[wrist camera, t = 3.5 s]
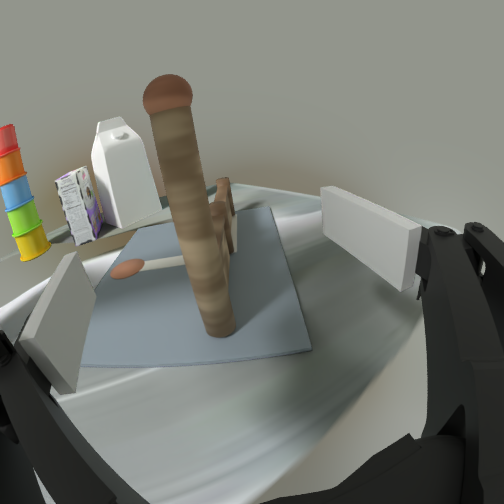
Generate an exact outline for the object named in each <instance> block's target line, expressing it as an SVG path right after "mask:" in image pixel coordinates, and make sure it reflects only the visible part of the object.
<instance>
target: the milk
mask: <svg viewBox="0 0 504 504" xmlns="http://www.w3.org/2000/svg"><path fill="white" fill-rule="evenodd" d="M91 158H92V164H93V169H94V174H95V179H96V184H97V188H98V192H99V197H100V201H101V205H102V209H103V214H104V218H105V221H106V223H108V224H110V225H113V226H116V227H119V228H122V229H123V228H125V227H127V226H129V225H131V224H133V223H135V222H137V221H139V220H141V219H143V218H145V217H148V216H150V215H152V214H154V213H156V212H158V211H160V210H163V209H162V206H161V203H160V200H159V196H158V193H157V190H156V186H155V183H154V180H153V176H152V173H151V169H150V166H149V162H148V158H147V155H146V151H145V147H144V143H143V141H142V139H141V138H140V136H139V135H138V134H137V133H135V132H134V131H133V130H132V129H131V128H130V127H129V126H127V124H126V123H125V121H124V120H123V119H122V117H121V116H120V117H115V118H112V119H108V120H104V121H101V122H98V126H97V132H96V137H95V140H94V144H93V148H92V154H91Z"/></svg>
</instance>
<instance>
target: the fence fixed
mask: <svg viewBox="0 0 504 504" xmlns="http://www.w3.org/2000/svg"><path fill="white" fill-rule="evenodd" d="M216 183H217V193H216V196H215V200H214V202H213V203H210V204H209V206H210V211H211V216H217V215H223V214H224V218H225V223H224V230H225V235H226V240H227V245H228V250H229V254H231V253H233V252H234V246H233V241H232V236H231V225H232V216H234V215H235V210H234V205H233V199H232V193H231V188H230V182H229V178H227V177H225V178H220V179H217V180H216Z"/></svg>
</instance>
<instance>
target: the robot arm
mask: <svg viewBox="0 0 504 504" xmlns="http://www.w3.org/2000/svg"><path fill="white" fill-rule="evenodd" d="M321 204H322V223H323V234H324V235H325V236H327V237H328V238H330V239H331V240H332V241H334V242H335V243H337V244H338V245H339V246H341V247H342V248H343V249H345V250H346V251H348V252H349V253H350V254H352V255H353V256H354V257H356V258H357V259H358V260H360V261H361V262H362V263H364V264H365V265H366V266H368V267H369V268H370V269H372V270H373V271H374V272H376V273H377V274H378V275H380V276H381V277H382V278H383V279H385V280H386V281H387V282H389V283H390V284H391V285H393V286H394V287H395V288H396V289H398V290H399V291H400V292H402V291H404V290H406V289H408V288H410V287H412V286H413V284H414V278H415V273H416V274H418V275H419V276H420V277H421V281H420V286H419V291H418V295H417V300H419V298H420V296H421V298H422V306H423V314H424V324H425V335H426V350H427V372H428V373H427V375H428V401H427V419H426V424H425V427H424V430H423V432H422V436H421V438H419V439H415V440H414V439H413V438H412V436H411V435H410V434H409V433H408V434H407V435H405V436H404V437H403V438H401V439H399V440H398V441H396V442H395V443H393V444H391V445H390V446H388V447H387V448H385V449H383V450H382V451H380V452H378V453H377V454H375V455H373V456H372V457H371V458H370V459H369V460H368V461H366V462H365V463H364V464H363V465H362V466H361V467H360V468H358V469H357V470H356V471H355V472H354V473H352V474H351V475H350V476H349V477H348V478H347V479H345V480H344V481H343V482H341V483H340V484H339V485H338V486H336V487H334V488H332V489H328V490H324V491H319V492H313V493H308V494H302V495H295V496H288V497H280V498H277V499H273V500H270V501H267V502H264V503H260V504H504V242H502V241H501V240H500V239H499V238H498V237H497V236H496V235H495V234H494V233H493V232H492V231H491V230H489V229H488V228H487V227H485V226H484V225H482V224H481V223H477V222H474V223H472V222H470V223H466V224H465V228H464V234H459V235H457V234H456V233H455V231H453V230H452V229H450V228H447V227H444V226H433V227H430V228H429V229H427V228H425V227H423V226H421V225H419V224H417V223H415V222H413V221H411V220H409V219H407V218H405V217H403V216H401V215H399V214H397V213H395V212H393V211H390V210H388V209H386V208H384V207H382V206H379V205H377V204H375V203H373V202H370V201H368V200H366V199H364V198H361V197H359V196H356V195H354V194H352V193H350V192H347V191H345V190H342V189H340V188H337V187H335V186H327V187H322V188H321ZM483 261H484V262H485V267H486V269H485V273H484V275H482V273H481V269H482V265H483ZM96 297H97V296H96V294H95V292H94V290H93V287H92V285H91V283H90V281H89V279H88V276H87V274H86V272H85V269H84V267H83V265H82V262H81V260H80V257H79V255H78V252H77V251H76V252H73V253H70V254H67V255H65V256H64V257H63V259H62V261H61V262H60V264H59V265H58V267H57V269H56V270H55V272H54V274H53V275H52V277H51V279H50V280H49V282H48V284H47V286H46V287H45V289H44V291H43V293H42V295H41V296H40V298H39V300H38V302H37V304H36V306H35V308H34V310H33V311H32V312H31V313H30V315H29V316H28V317H27V319H26V321H25V323H24V326H23V327H22V329H21V332H20V334H19V336H18V338H17V340H16V342H15V344H14V346H13V345H12V344H11V342H10V341H9V339H8V338H7V336H6V335H5V333H4V332H3V331H2V330H0V504H46V503H45V500H44V498H43V495H42V493H41V490H40V487H39V484H38V481H37V478H36V475H35V472H34V470H35V471H36V473H37V475H38V477H39V478H40V480H41V482H42V483H43V485H44V486H45V488H46V490H47V491H48V493H49V494H50V496H51V497H52V499H53V500H54V502H55V503H56V504H150V503H148V502H147V501H146V500H145V499H144V498H143V497H141V496H140V495H139V494H138V493H137V492H136V491H135V490H134V489H132V488H131V487H130V486H129V485H128V484H127V483H126V482H125V481H124V480H123V479H122V478H121V477H120V476H119V475H118V474H117V473H116V472H115V471H114V470H113V469H112V468H111V467H110V466H109V465H108V464H107V463H106V462H105V461H104V460H103V459H102V458H101V457H100V455H99V454H98V453H97V452H96V451H95V450H94V449H93V448H92V446H91V445H90V444H89V443H88V442H87V441H86V439H85V438H84V437H83V436H82V434H81V433H80V432H79V431H78V429H77V428H76V427H75V426H74V424H73V423H72V422H71V420H70V419H69V418H68V416H67V415H66V414H65V412H64V411H63V410H62V408H61V407H60V405H59V404H58V402H57V401H56V399H55V398H54V397H53V396H52V395H51V394H50V389H51V385H52V386H53V387H54V388H55V390H56V391H57V392H58V393H59V394H60V395H64V394H71V393H76V387H77V381H78V375H79V369H80V364H81V359H82V354H83V349H84V345H85V340H86V336H87V331H88V327H89V323H90V319H91V315H92V312H93V308H94V304H95V301H96ZM33 468H34V469H33Z"/></svg>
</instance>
